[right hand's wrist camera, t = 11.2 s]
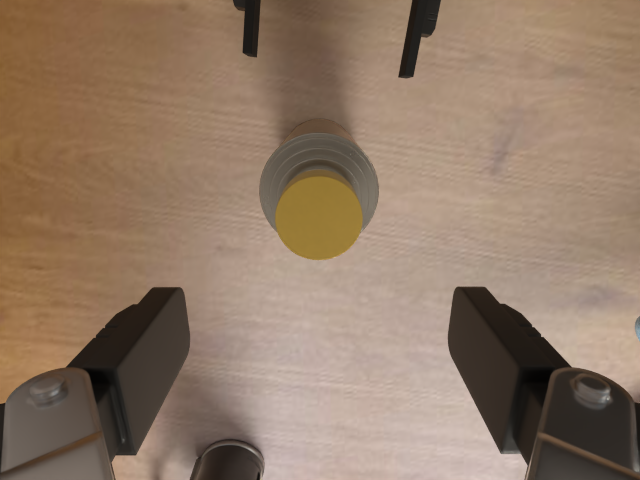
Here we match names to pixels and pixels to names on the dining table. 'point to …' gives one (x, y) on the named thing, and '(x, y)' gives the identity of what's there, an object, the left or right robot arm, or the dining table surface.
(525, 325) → the right robot arm
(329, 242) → the cap
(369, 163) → the bottle
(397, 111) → the dining table surface
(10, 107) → the dining table surface
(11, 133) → the dining table surface
